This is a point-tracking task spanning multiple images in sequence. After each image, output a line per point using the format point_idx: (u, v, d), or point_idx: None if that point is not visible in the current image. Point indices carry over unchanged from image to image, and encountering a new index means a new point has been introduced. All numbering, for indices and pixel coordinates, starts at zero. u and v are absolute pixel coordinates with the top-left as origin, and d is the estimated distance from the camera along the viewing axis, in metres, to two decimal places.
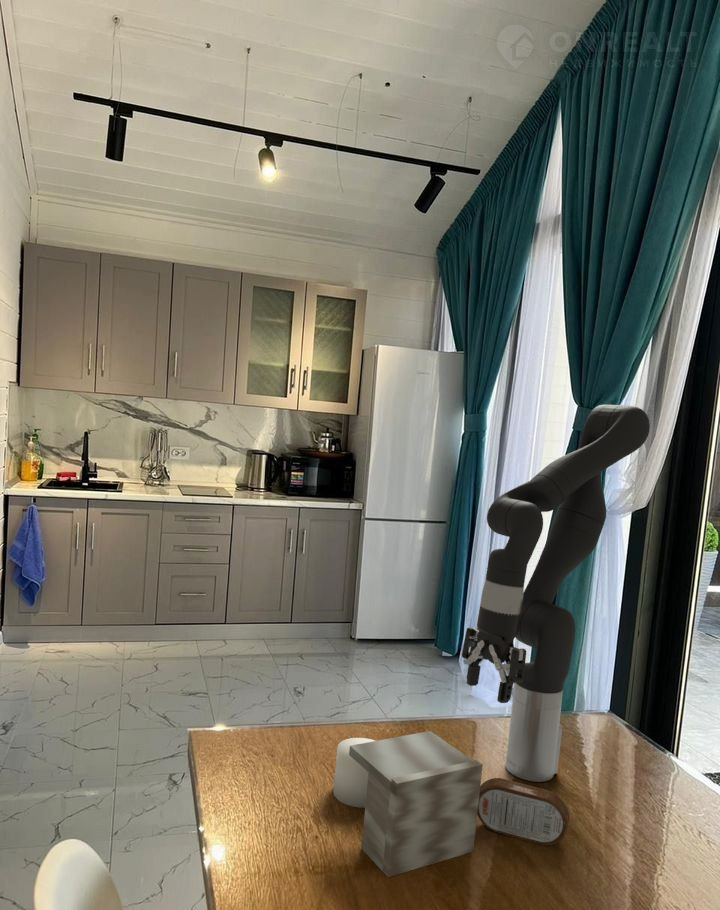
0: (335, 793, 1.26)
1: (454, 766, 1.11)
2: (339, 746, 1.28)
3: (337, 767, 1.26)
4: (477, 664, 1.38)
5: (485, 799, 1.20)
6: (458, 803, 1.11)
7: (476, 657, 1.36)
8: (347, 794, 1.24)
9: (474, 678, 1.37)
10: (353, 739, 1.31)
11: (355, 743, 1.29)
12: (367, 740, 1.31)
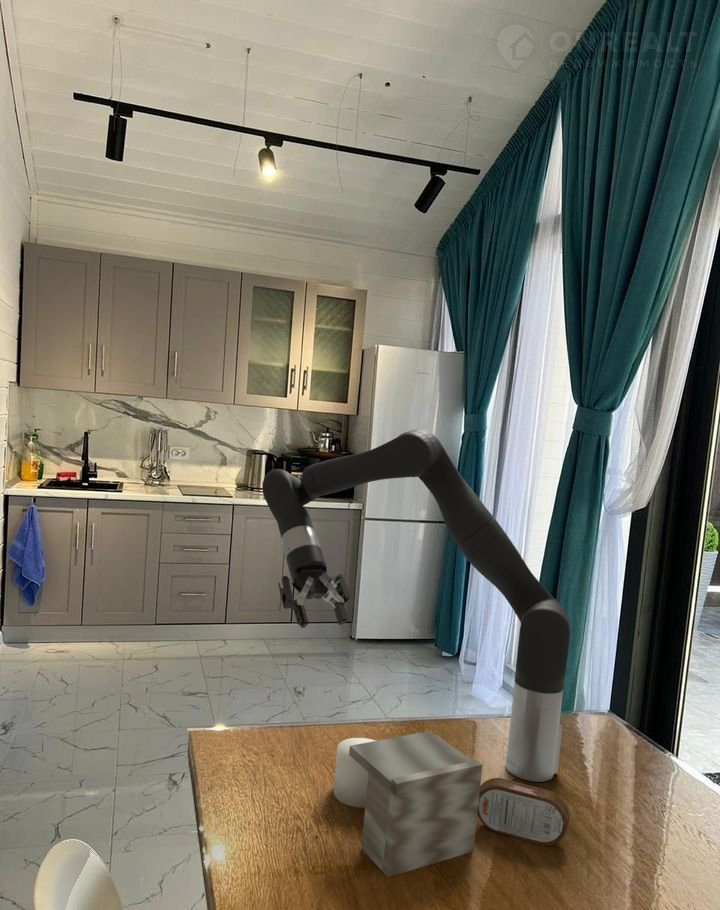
0: (335, 793, 1.26)
1: (454, 766, 1.11)
2: (339, 746, 1.28)
3: (337, 767, 1.26)
4: (337, 604, 1.45)
5: (485, 799, 1.20)
6: (458, 803, 1.11)
7: (327, 600, 1.47)
8: (347, 794, 1.24)
9: (339, 616, 1.44)
10: (353, 739, 1.31)
11: (355, 743, 1.29)
12: (367, 740, 1.31)
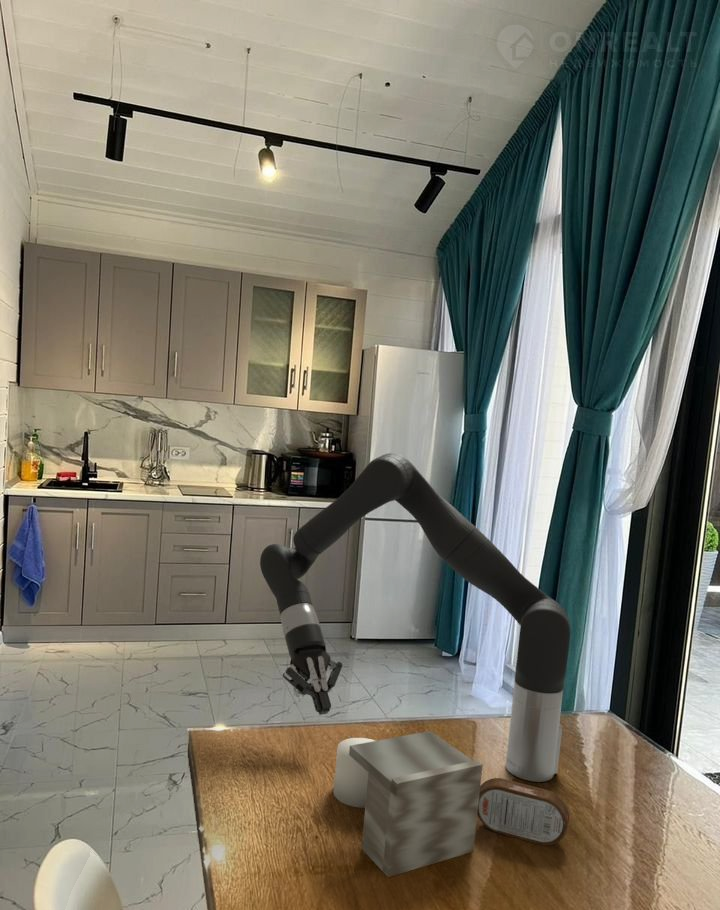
0: (335, 793, 1.26)
1: (454, 766, 1.11)
2: (339, 746, 1.28)
3: (337, 767, 1.26)
4: (321, 692, 1.42)
5: (485, 799, 1.20)
6: (458, 803, 1.11)
7: None
8: (347, 794, 1.24)
9: None
10: (353, 739, 1.31)
11: (355, 743, 1.29)
12: (367, 740, 1.31)
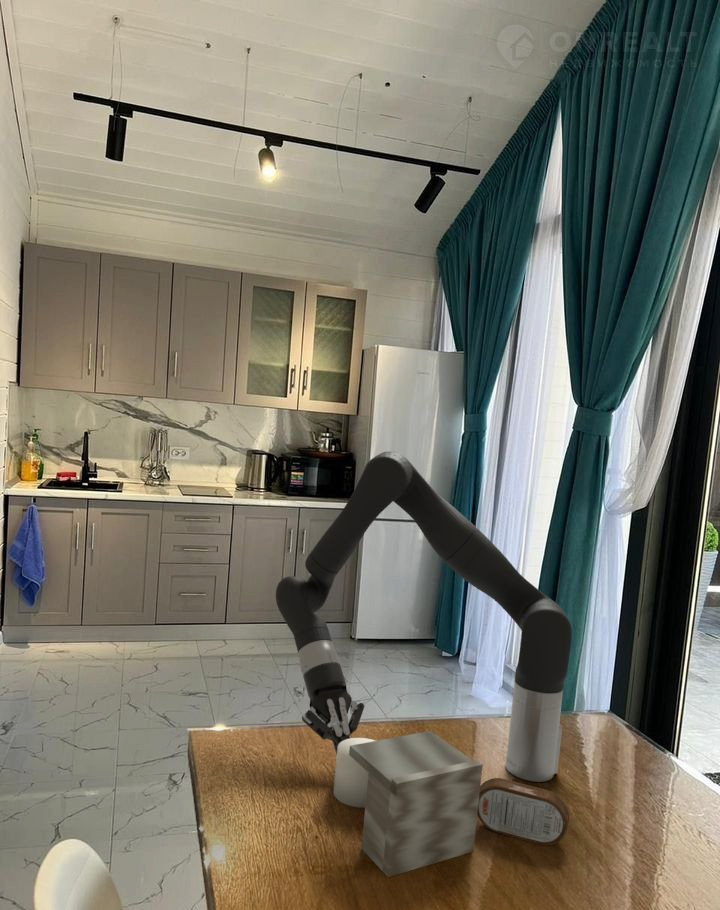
0: (335, 793, 1.26)
1: (454, 766, 1.11)
2: (339, 746, 1.28)
3: (337, 767, 1.26)
4: (342, 736, 1.34)
5: (485, 799, 1.20)
6: (458, 803, 1.11)
7: None
8: (347, 794, 1.24)
9: None
10: (353, 739, 1.31)
11: (355, 743, 1.29)
12: (367, 740, 1.31)
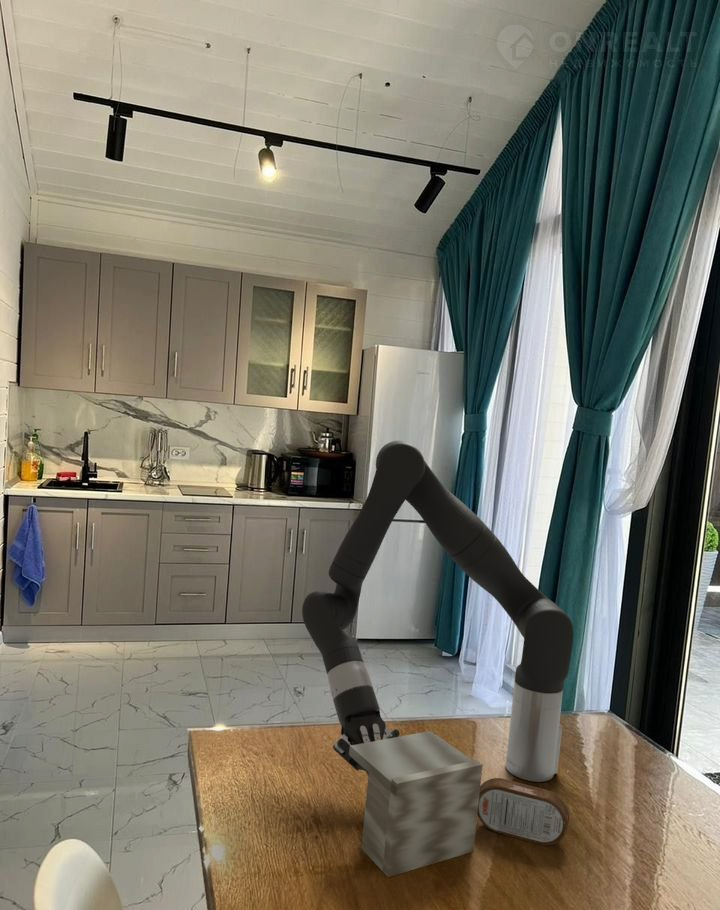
0: None
1: (454, 766, 1.11)
2: None
3: None
4: None
5: (485, 799, 1.20)
6: (458, 803, 1.11)
7: None
8: None
9: None
10: None
11: None
12: None
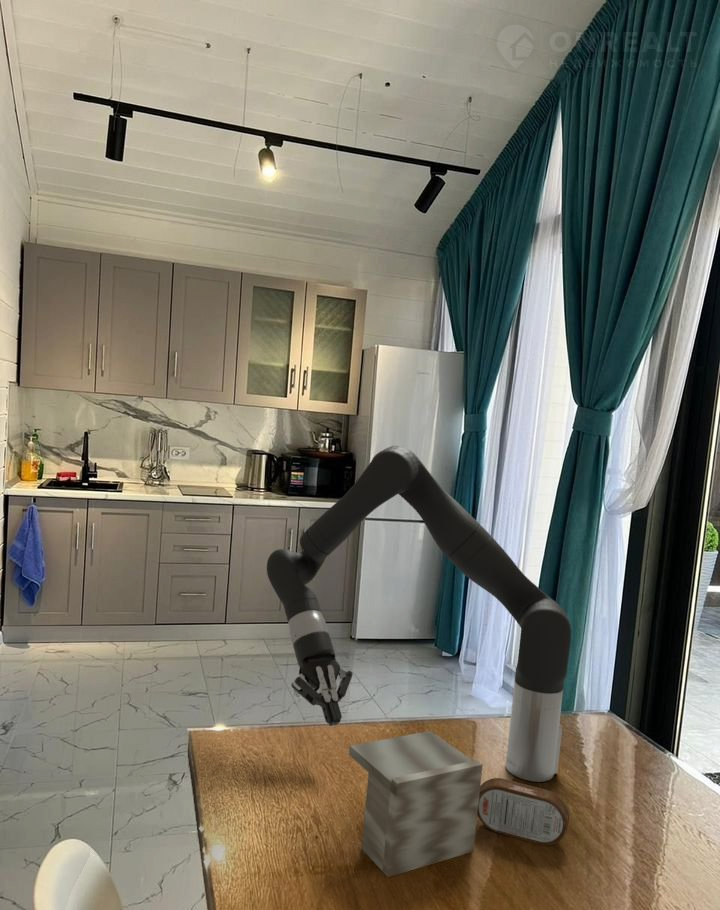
0: None
1: (454, 766, 1.11)
2: None
3: None
4: (331, 702, 1.38)
5: (485, 799, 1.20)
6: (458, 803, 1.11)
7: None
8: None
9: None
10: None
11: None
12: None
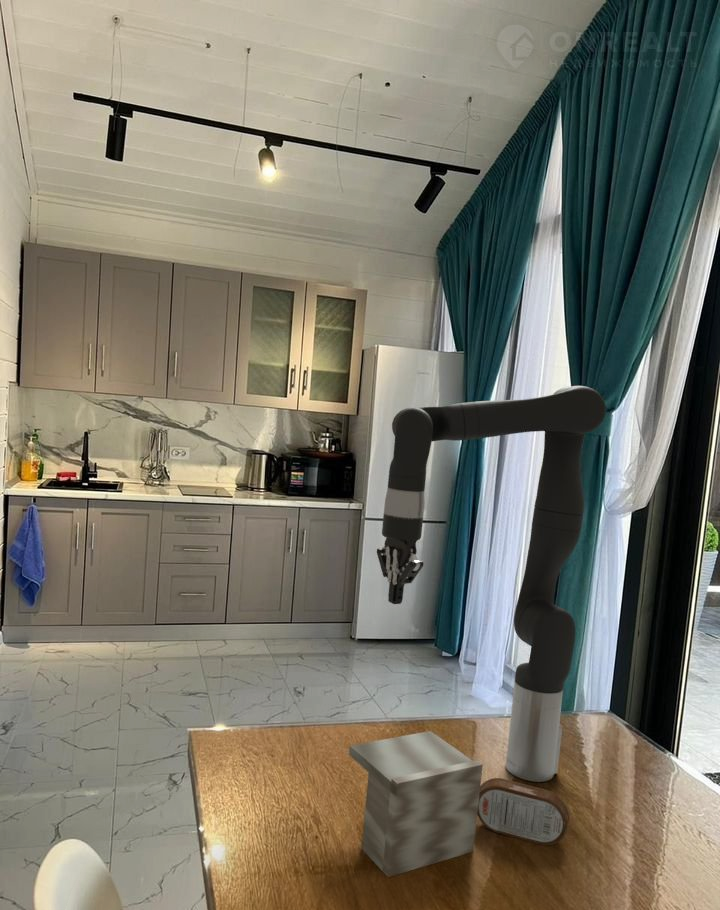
0: None
1: (454, 766, 1.11)
2: None
3: None
4: None
5: (485, 799, 1.20)
6: (458, 803, 1.11)
7: (391, 568, 1.38)
8: None
9: None
10: None
11: None
12: None
